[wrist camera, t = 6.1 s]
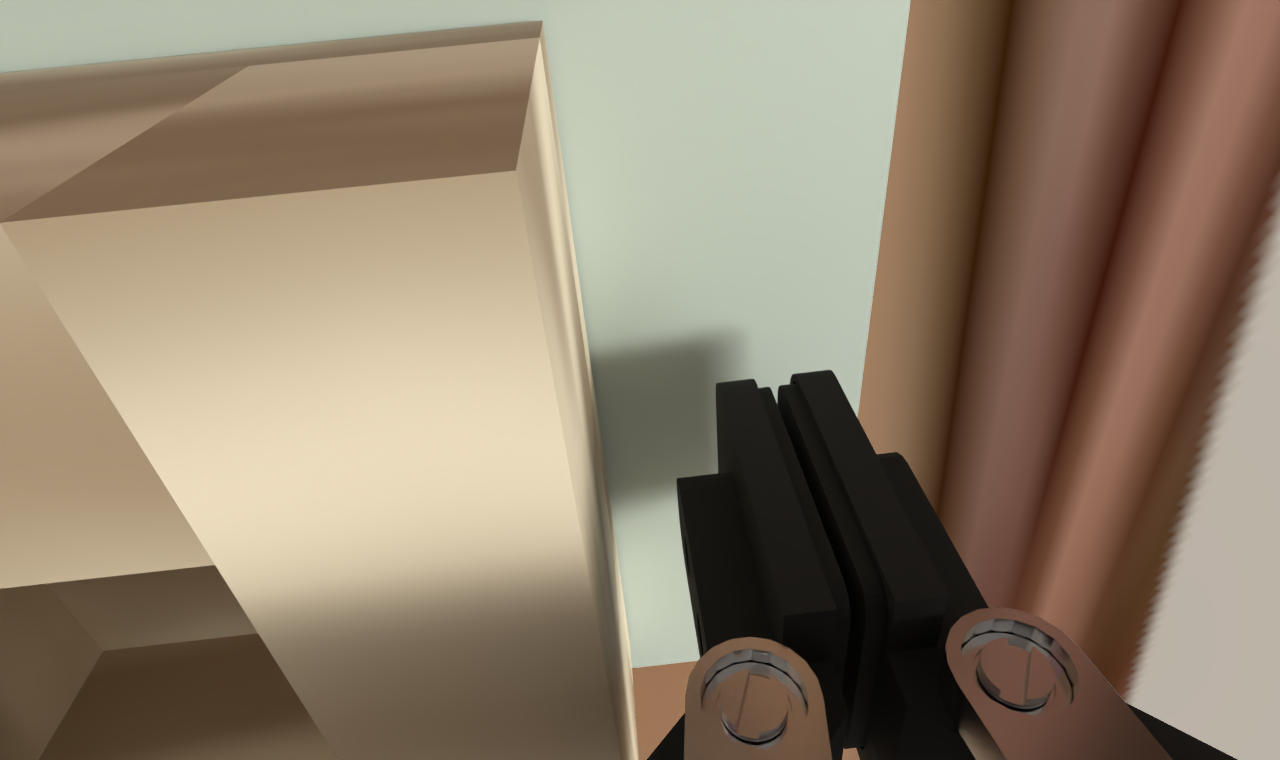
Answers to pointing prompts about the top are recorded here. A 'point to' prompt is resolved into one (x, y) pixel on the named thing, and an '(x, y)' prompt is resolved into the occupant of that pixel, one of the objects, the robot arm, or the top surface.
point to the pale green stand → (641, 202)
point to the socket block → (301, 412)
